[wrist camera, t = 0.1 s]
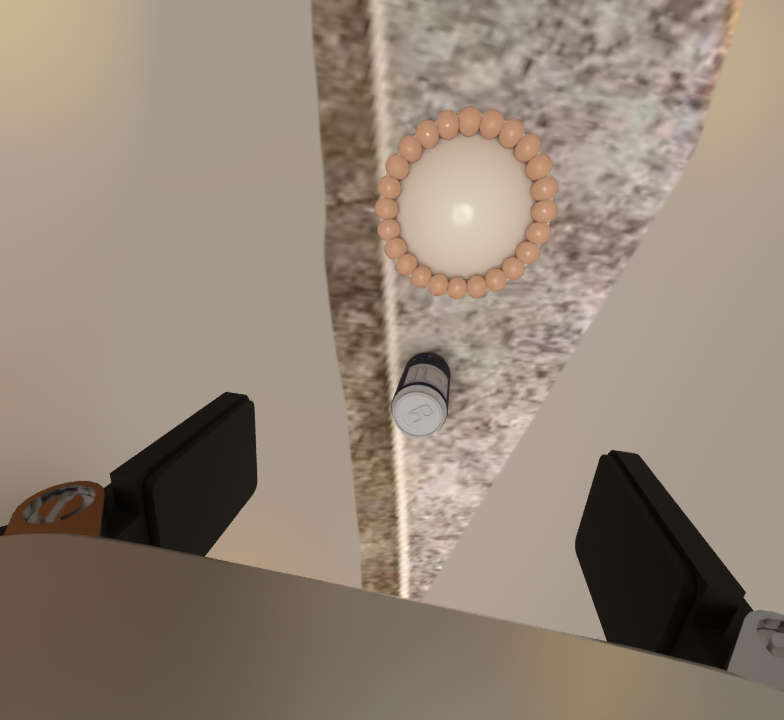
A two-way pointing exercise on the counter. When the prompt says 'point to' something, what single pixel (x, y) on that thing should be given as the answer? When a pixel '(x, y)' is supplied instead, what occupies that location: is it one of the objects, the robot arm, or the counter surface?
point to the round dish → (466, 203)
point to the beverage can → (422, 396)
